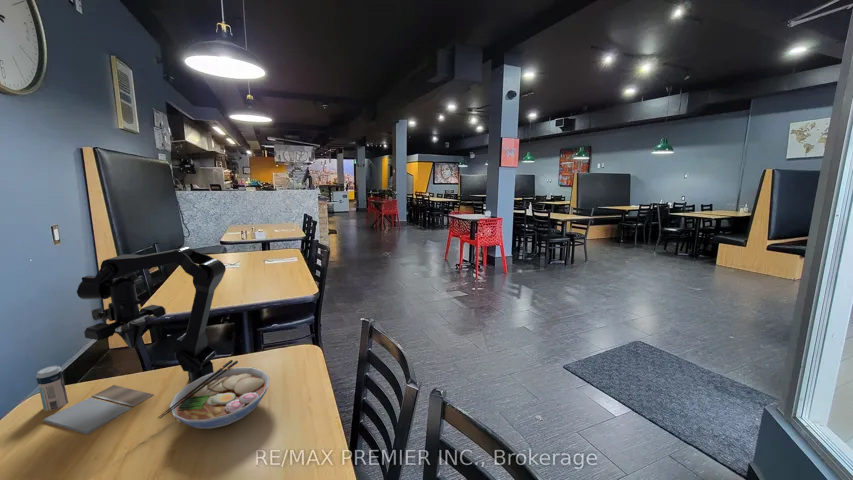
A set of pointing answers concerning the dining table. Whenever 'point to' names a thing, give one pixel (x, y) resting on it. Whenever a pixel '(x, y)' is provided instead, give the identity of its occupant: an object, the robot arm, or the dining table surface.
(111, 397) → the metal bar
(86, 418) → the grey tile
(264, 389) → the ramen bowl
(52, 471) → the dining table surface
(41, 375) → the grey can
